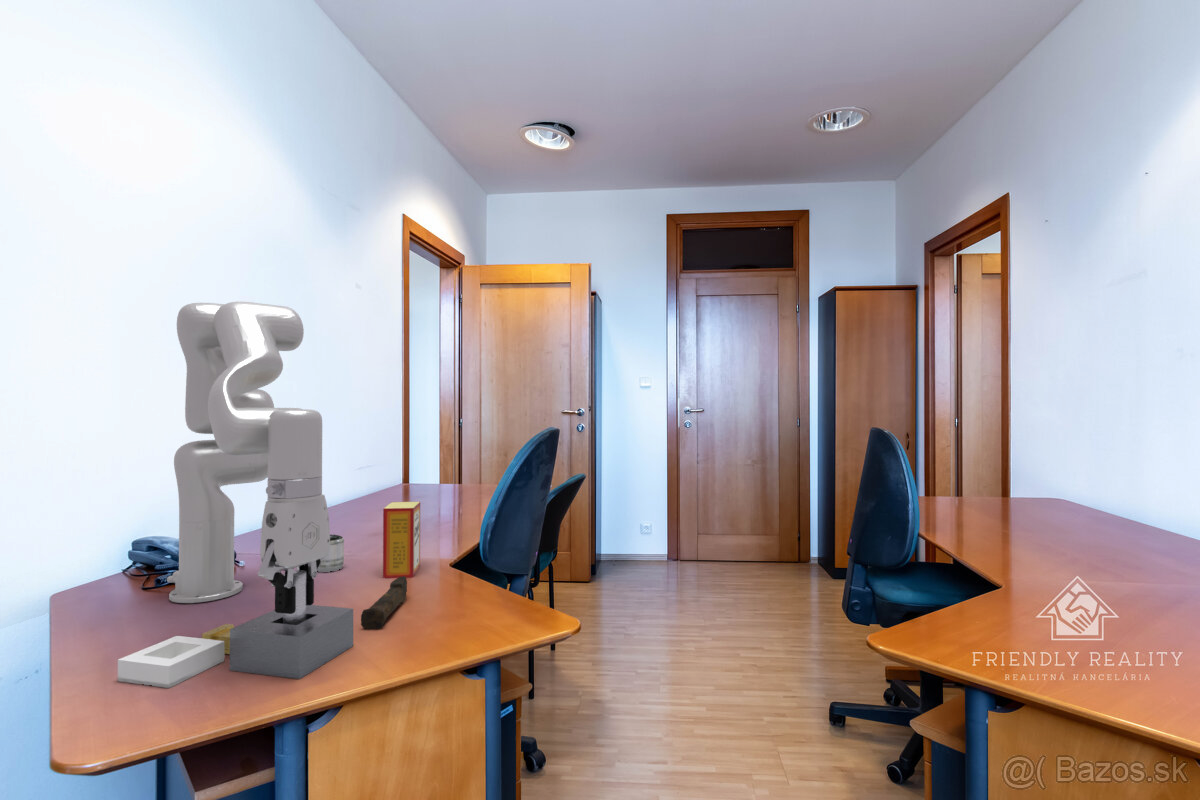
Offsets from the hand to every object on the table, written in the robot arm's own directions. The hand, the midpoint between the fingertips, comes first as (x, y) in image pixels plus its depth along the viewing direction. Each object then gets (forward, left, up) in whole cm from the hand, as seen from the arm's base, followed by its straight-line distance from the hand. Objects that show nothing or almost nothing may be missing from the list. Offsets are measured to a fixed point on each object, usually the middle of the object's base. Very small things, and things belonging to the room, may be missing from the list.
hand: (294, 607), depth 92 cm
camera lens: (-28, +44, -8) cm, 53 cm away
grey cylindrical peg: (0, 0, -8) cm, 8 cm away
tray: (-14, -8, -8) cm, 18 cm away
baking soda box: (-10, +46, -8) cm, 48 cm away
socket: (0, 0, -8) cm, 8 cm away
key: (-9, 0, -8) cm, 12 cm away
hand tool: (+2, +22, -8) cm, 23 cm away
